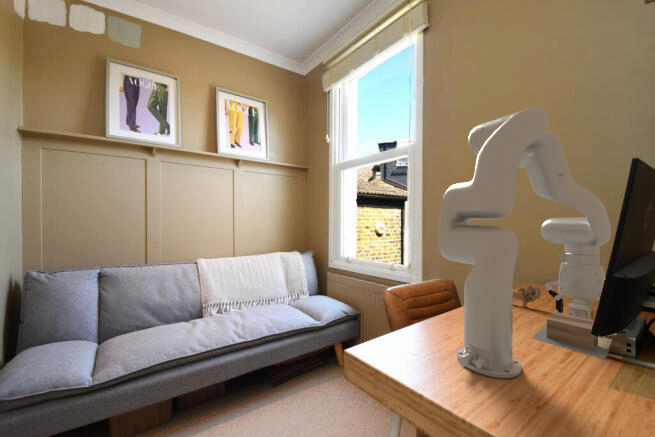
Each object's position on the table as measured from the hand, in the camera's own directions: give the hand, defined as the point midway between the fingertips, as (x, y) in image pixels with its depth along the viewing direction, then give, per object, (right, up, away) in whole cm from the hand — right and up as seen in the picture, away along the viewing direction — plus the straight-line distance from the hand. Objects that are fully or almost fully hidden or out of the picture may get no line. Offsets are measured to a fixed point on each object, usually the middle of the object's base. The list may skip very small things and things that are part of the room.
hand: (581, 317), depth 81 cm
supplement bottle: (0, -4, 0) cm, 4 cm away
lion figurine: (-5, -4, +20) cm, 21 cm away
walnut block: (-10, -3, -8) cm, 13 cm away
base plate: (-10, -4, -8) cm, 13 cm away
